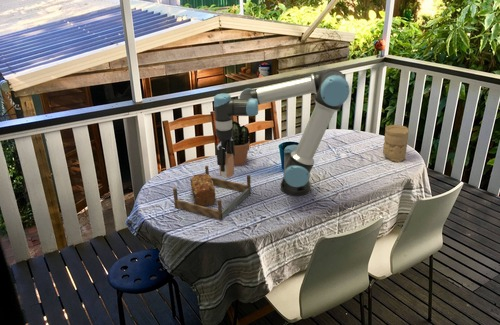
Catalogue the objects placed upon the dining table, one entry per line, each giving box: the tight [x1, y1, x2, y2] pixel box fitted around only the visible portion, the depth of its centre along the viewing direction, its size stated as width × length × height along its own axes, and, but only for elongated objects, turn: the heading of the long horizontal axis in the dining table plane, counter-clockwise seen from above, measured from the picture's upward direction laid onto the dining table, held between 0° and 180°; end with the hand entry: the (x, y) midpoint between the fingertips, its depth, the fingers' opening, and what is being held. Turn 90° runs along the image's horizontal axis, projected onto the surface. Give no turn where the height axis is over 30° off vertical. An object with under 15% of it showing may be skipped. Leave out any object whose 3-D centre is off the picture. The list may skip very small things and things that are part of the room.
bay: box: [172, 165, 252, 221], centre depth 217 cm, size 26×28×10 cm
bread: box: [190, 173, 216, 207], centre depth 221 cm, size 19×11×10 cm, turn 12°
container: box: [382, 124, 410, 163], centre depth 255 cm, size 13×13×18 cm
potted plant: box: [232, 120, 250, 167], centre depth 253 cm, size 14×14×25 cm
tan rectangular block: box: [218, 153, 235, 179], centre depth 211 cm, size 5×5×10 cm
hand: (227, 174), depth 213 cm, fingers closed on tan rectangular block, 5 cm apart
